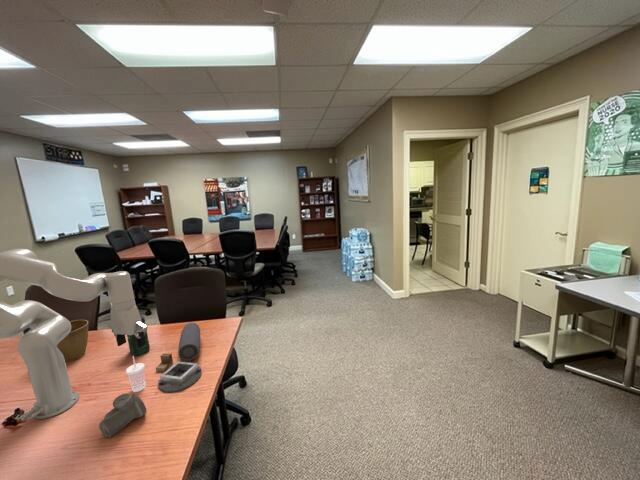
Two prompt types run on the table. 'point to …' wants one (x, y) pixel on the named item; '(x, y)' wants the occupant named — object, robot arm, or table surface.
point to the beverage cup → (136, 376)
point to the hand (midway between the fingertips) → (132, 345)
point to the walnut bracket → (164, 363)
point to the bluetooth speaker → (189, 342)
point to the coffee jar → (133, 344)
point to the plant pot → (75, 341)
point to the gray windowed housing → (179, 377)
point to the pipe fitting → (122, 413)
